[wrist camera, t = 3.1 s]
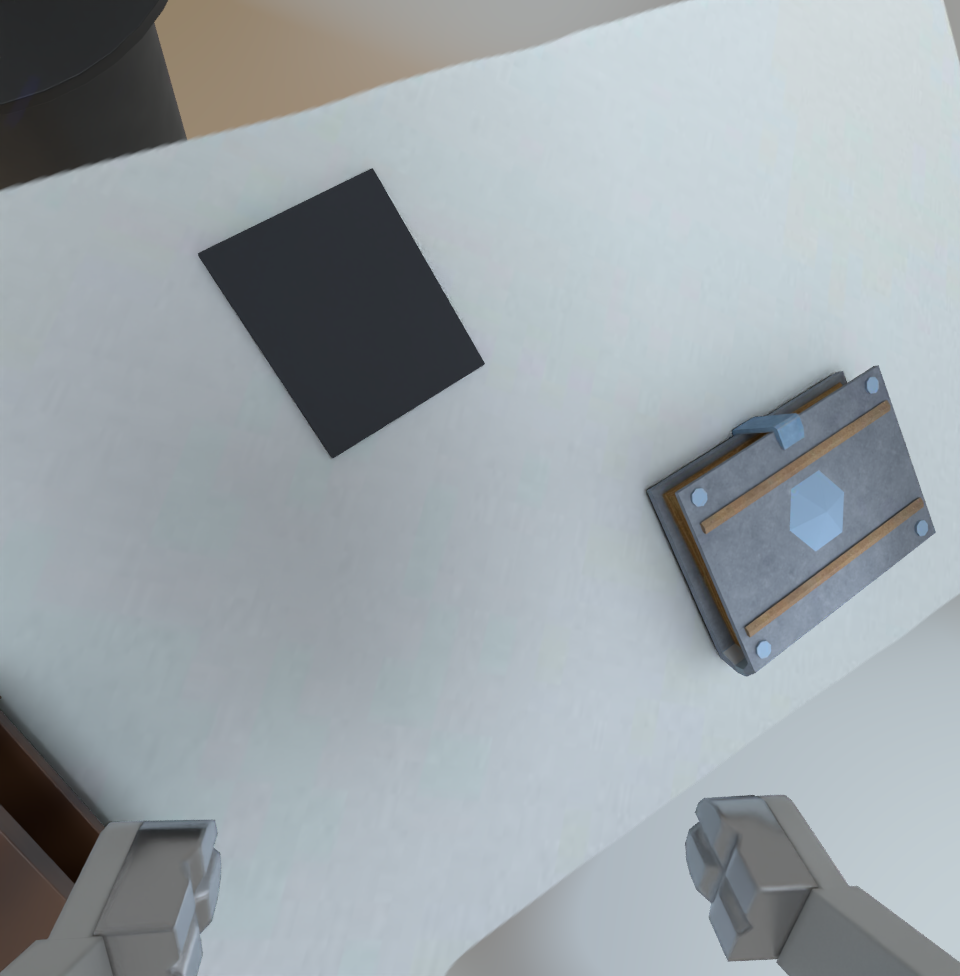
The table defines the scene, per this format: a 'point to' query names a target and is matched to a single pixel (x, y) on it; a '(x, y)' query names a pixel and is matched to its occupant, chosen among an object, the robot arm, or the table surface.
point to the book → (794, 516)
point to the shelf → (36, 843)
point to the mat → (344, 310)
